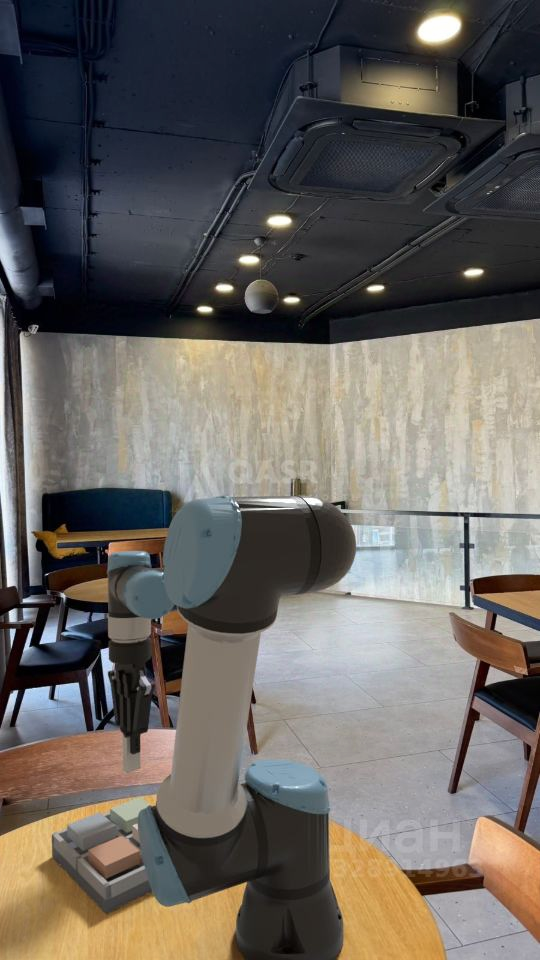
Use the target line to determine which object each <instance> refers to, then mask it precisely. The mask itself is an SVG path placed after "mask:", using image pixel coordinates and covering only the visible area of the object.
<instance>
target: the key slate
mask: <svg viewBox="0 0 540 960" xmlns="http://www.w3.org/2000/svg"><path fill="white" fill-rule="evenodd" d="M102 814H103V813H102V812H96V813H95V814H91V815H89V816H86V817H84V818H81V819H78V820H76V821H73V822H71V823H68V824H67V827H66V828H67V836H68V837H69V838H70V839H71V840H72V841H73V842H74V843H75V844H76V845H77V846H78V847H79V848H80V849H81V850H82V851H84V850H87V849H89V848H91V847H94V846H96V845H99V844H101V843H103V842H106V841H108V840H111V839H113V838H115V837H116V825H115V824H114V823H112V822H111V821H110V820H109V819H107V818H106V817H105V816H104V815H102Z"/></svg>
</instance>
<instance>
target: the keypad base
mask: <svg viewBox="0 0 540 960" xmlns="http://www.w3.org/2000/svg"><path fill="white" fill-rule="evenodd" d="M101 814H102V815H104V816H105V817H106V818H107V819H109V820H110V811H107V812H106V813H101ZM110 821H111V820H110ZM111 822H112V823H114V822H113V821H111ZM114 824H115V823H114ZM115 825H116V824H115ZM120 836H123V837H124V838H125V839H126V840H128V841H129V842H130V843H131V844H132V845H134V846H135V847H136V848H137V849H138V850H140V863H139V864H137V865H135V866H133V867H131V868H128V869H126V870H124V871H122V872H120V873H117V874H115V875H113V876H111V877H109V878H107V879H105V878H104V877H103V876H102V875H101V874H100V873H99V872H98V871H97V870H96V869H95V868H94V867H93V866H92V865H91V864H90V863H89V862H88V850H89V849H91V848H94V847H96V846H98V845H96V846H94V847H91V848H89V849H87V850H84V851H82V850H81V849H80V848H79V847H78V846H77V845H76V844H75V843H74V842H73V841H72V840H71V839H70V838H69V837H68V836H67V827H66V828H63V829H61V830H59V831H56V832H54V833H51V857H52V859H53V860H54V861H55V862H56V863H57V864H58V865H59V866H60V867H61V868H62V869H63V870H64V872H66V874H67V875H68V876H70V878H71V879H72V880H73V881H74V882H75V883H76V884H77V885H78V887H80V889H81V890H83V891H84V893H86V895H88V897H89V898H90V899H91V900H92V901H93V902H94V903H95V904H96V906H98V907H99V908H100V910H102V911H103V913H104V914H105V915H106V914H107V915H108V914H109V913H111V912H114V911H115V910H117V909H120V908H121V907H123V906H125V905H127V904H129V903H131V902H133V901H136V900H138V899H139V898H141V897H143V896H145V895H147V894H149V893H151V892H152V890H151V887H150V884H149V881H148V877H147V874H146V870H145V866H144V862H143V857H142V852H141V847H140V843H139V842H137V841H136V840H135V839H134V838H132V831H130V832H127V833H126V832H125V831H124V830H123V829H121V828H120V827H119V826H118V825H116V837H115V838H118V837H120ZM115 838H113V839H115ZM113 839H111V840H113ZM108 841H110V840H108ZM108 841H106V842H108ZM106 842H103V843H106ZM103 843H101V844H103ZM101 844H99V845H101Z"/></svg>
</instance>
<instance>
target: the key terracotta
mask: <svg viewBox="0 0 540 960" xmlns="http://www.w3.org/2000/svg"><path fill="white" fill-rule="evenodd" d="M88 862H89V863H90V864H91V865H92V866H93V867H94V868H95V869H96V870H97V871H98V872H99V873H100V874H101V875H102V876H103V877H104V878H105V879H107V878H109V877H111V876H113V875H115V874H117V873H120V872H122V871H124V870H126V869H128V868H131V867H133V866H135V865H137V864H139V863H140V850H138V849H137V848H136V847H135V846H134V845H132V844H131V843H130V842H129V841H128V840H126V839H125V838H124V837H123V836H120V837H118V838H115V839H113V840H110V841H108V842H106V843H103V844H101V845H98V846H96V847H94V848H91V849H89V850H88Z"/></svg>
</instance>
